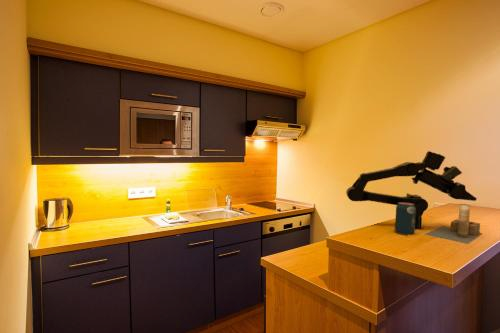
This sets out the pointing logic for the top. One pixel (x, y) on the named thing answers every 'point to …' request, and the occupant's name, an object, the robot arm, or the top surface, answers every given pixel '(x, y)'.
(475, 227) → the hole block
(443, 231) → the mat
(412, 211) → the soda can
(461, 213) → the peg
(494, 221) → the top surface
